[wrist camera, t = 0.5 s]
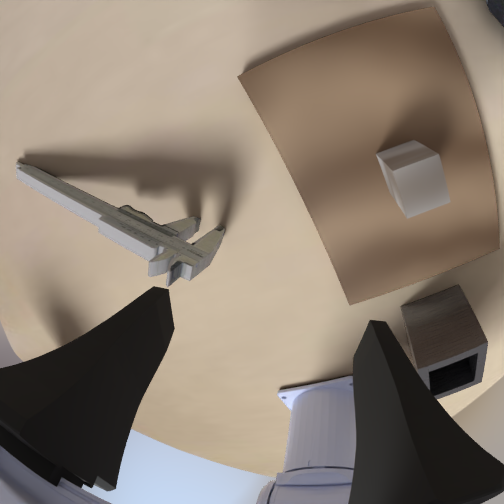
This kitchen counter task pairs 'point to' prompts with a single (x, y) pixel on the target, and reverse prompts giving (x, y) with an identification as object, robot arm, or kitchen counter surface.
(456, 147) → the post base
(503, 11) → the dark slate chunk
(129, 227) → the caliper
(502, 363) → the kitchen counter surface
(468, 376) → the steel collar
